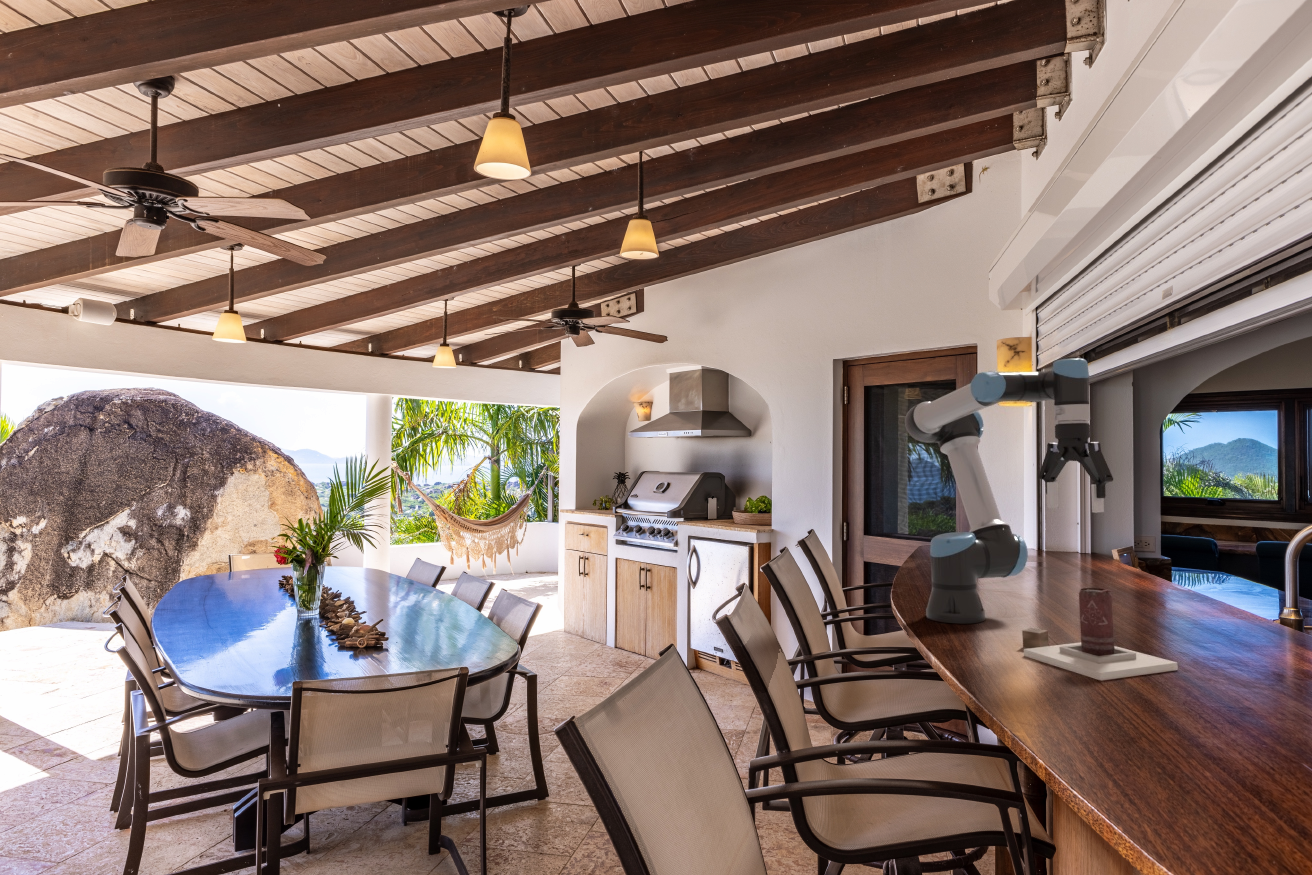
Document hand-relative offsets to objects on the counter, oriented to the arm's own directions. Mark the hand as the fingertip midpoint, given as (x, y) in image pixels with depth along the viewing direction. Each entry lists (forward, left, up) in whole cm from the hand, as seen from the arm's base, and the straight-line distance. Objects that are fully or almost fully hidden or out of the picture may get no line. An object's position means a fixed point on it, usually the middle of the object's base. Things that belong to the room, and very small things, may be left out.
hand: (1074, 510), depth 179 cm
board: (+17, -13, -31) cm, 38 cm away
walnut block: (+2, -15, -31) cm, 35 cm away
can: (+17, -13, -30) cm, 37 cm away
